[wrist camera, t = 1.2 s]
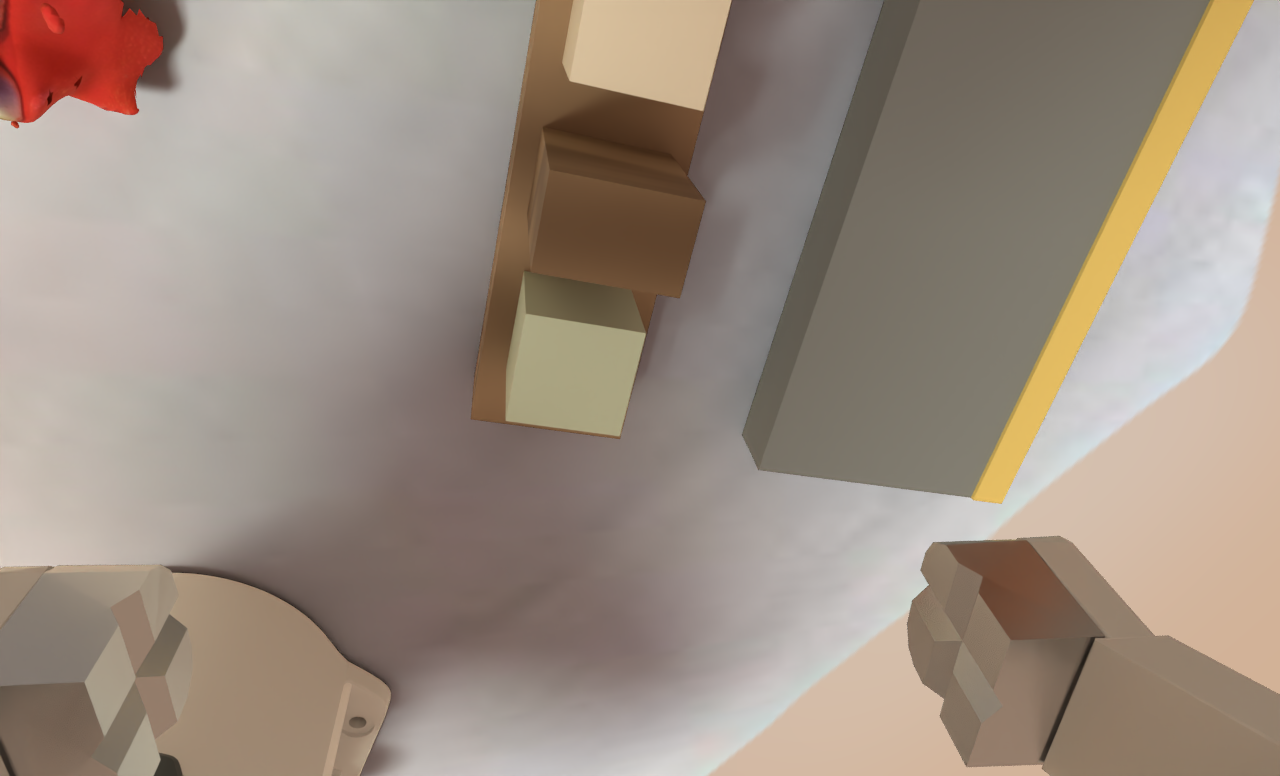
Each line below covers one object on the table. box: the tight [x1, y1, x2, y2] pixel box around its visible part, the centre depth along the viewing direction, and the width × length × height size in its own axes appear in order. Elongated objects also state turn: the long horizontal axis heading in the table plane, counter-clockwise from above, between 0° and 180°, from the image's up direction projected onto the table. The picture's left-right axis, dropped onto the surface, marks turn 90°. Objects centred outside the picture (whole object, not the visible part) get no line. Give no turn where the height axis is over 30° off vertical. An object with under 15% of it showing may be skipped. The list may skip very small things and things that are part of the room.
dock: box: [742, 0, 1254, 504], centre depth 35 cm, size 22×12×3 cm, turn 167°
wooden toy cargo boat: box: [471, 0, 732, 439], centre depth 29 cm, size 20×6×10 cm, turn 167°
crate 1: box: [506, 271, 646, 436], centre depth 30 cm, size 4×4×4 cm
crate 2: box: [562, 0, 732, 111], centre depth 26 cm, size 4×4×4 cm
